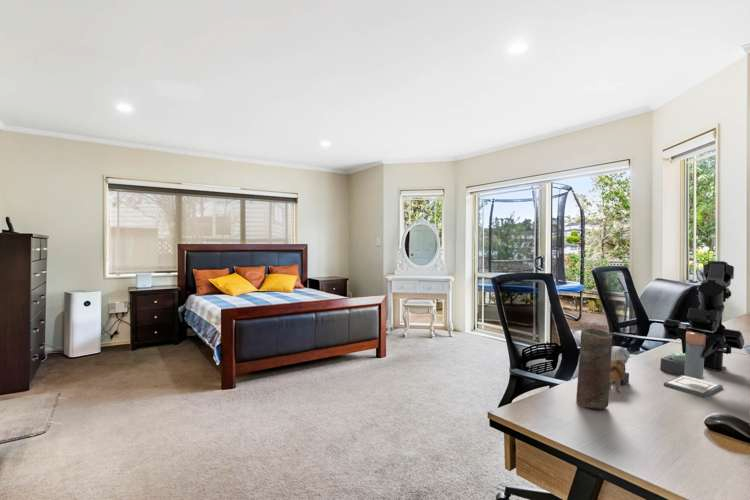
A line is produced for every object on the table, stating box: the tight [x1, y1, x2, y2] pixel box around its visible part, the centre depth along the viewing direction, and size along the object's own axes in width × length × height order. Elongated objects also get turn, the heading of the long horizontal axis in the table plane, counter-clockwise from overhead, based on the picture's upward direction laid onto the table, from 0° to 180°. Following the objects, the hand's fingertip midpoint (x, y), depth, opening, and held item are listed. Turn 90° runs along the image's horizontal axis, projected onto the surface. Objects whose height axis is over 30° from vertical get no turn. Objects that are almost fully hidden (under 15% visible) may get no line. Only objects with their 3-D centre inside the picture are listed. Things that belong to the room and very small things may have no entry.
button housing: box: [659, 354, 690, 377], centre depth 129 cm, size 8×8×4 cm
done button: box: [671, 352, 685, 363], centre depth 129 cm, size 4×4×3 cm
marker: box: [684, 332, 706, 379], centre depth 115 cm, size 5×5×13 cm
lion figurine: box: [609, 359, 626, 394], centre depth 110 cm, size 15×5×9 cm, turn 114°
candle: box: [575, 328, 613, 410], centre depth 100 cm, size 8×7×20 cm
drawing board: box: [663, 375, 724, 398], centre depth 115 cm, size 14×10×1 cm
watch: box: [611, 345, 631, 387], centre depth 118 cm, size 6×8×11 cm
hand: (692, 354), depth 114 cm, fingers closed on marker, 4 cm apart
